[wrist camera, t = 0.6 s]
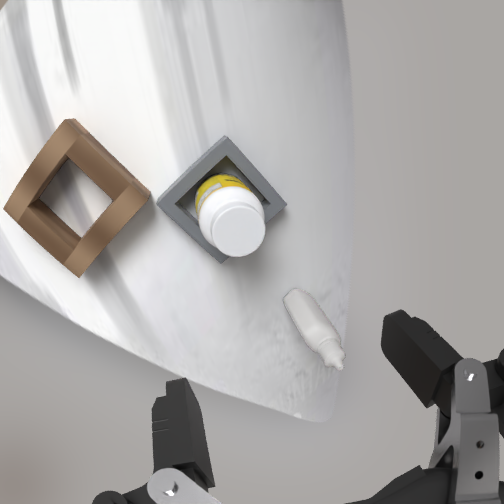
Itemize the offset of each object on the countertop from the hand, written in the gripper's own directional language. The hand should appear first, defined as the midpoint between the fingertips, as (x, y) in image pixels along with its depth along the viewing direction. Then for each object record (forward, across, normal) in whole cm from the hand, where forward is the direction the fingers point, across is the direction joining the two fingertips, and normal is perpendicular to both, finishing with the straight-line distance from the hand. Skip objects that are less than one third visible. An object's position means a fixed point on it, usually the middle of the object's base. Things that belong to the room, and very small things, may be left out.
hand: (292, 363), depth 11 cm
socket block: (+23, +14, -5) cm, 27 cm away
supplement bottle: (+23, -1, 0) cm, 23 cm away
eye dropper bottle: (+23, -8, +15) cm, 29 cm away
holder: (+23, -1, 0) cm, 23 cm away
